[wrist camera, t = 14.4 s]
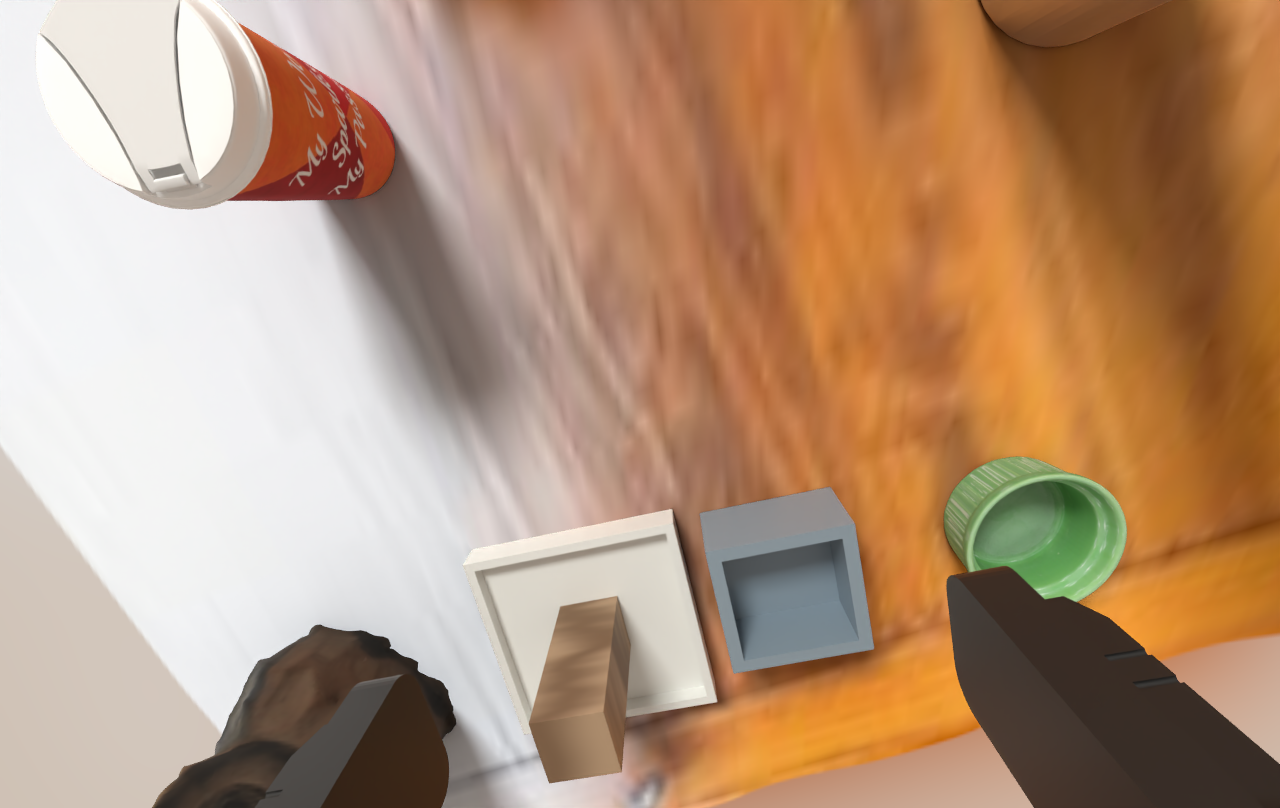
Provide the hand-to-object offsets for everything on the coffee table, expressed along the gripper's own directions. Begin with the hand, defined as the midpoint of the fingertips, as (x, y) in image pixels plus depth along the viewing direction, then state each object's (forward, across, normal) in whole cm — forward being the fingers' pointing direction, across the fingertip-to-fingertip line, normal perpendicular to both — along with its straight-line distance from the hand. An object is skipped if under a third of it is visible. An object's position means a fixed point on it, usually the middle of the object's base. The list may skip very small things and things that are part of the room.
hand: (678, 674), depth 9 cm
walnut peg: (+27, +9, +18) cm, 34 cm away
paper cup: (+28, +15, -15) cm, 35 cm away
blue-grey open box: (+28, -4, +16) cm, 33 cm away
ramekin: (+28, -19, +16) cm, 38 cm away
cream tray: (+28, +9, +18) cm, 35 cm away
